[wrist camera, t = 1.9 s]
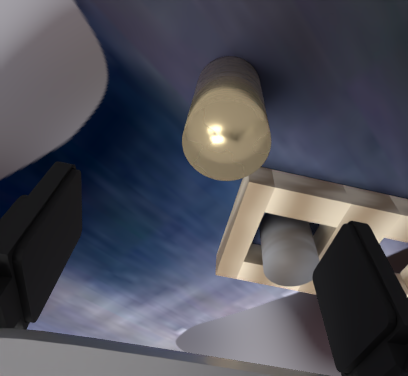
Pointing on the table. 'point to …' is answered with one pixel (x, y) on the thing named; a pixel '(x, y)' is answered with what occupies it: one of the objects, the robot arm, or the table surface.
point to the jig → (299, 227)
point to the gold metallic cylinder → (227, 121)
